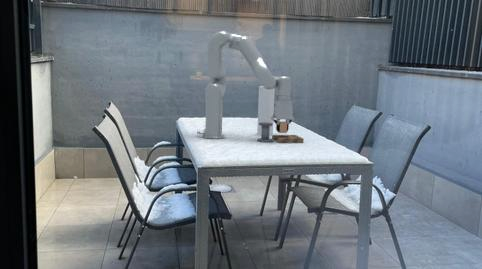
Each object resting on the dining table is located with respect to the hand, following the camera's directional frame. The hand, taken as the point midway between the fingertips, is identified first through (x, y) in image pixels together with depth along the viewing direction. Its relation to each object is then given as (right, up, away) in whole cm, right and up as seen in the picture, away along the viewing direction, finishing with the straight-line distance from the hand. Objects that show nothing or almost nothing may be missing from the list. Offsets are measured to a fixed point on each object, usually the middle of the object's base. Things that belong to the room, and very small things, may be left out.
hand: (282, 131), depth 256 cm
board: (+3, -6, +2) cm, 6 cm away
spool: (-10, -6, -1) cm, 11 cm away
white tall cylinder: (-9, -2, +22) cm, 24 cm away
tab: (0, -1, 0) cm, 1 cm away
